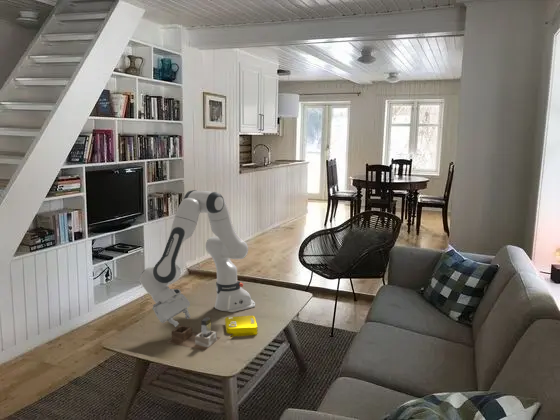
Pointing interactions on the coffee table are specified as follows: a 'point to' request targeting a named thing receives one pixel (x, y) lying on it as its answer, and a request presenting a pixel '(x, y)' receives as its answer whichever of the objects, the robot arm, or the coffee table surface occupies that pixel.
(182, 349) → the coffee table surface
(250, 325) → the element tile
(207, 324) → the brushed metal bar
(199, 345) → the caddy
